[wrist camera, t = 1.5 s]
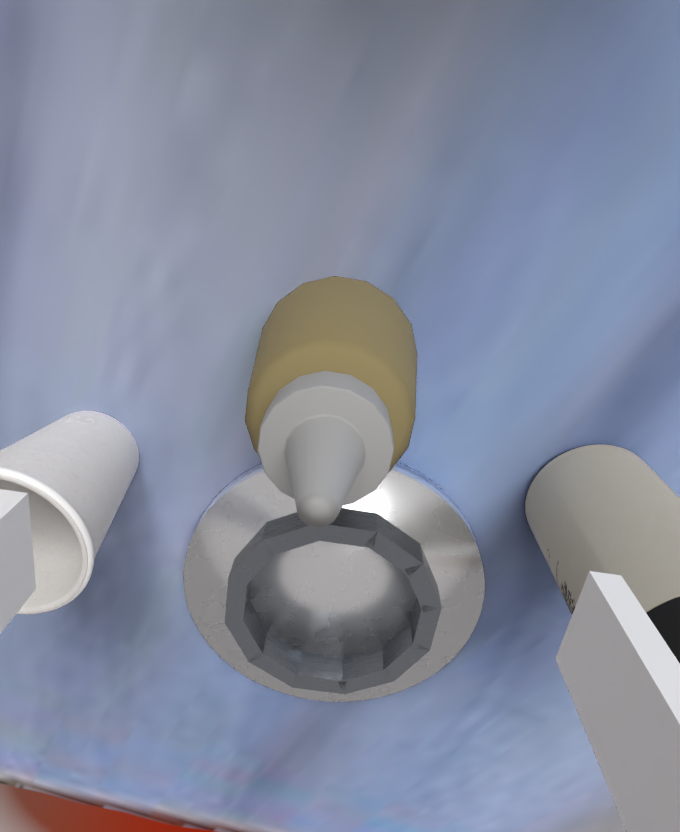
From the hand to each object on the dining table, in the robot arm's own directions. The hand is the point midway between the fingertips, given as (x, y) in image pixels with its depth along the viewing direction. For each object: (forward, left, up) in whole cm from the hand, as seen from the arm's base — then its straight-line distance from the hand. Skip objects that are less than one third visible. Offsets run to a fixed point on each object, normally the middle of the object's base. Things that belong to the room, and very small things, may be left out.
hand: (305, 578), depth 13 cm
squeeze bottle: (0, 0, -21) cm, 21 cm away
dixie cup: (+9, -14, -21) cm, 27 cm away
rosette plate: (+17, +2, -21) cm, 27 cm away
